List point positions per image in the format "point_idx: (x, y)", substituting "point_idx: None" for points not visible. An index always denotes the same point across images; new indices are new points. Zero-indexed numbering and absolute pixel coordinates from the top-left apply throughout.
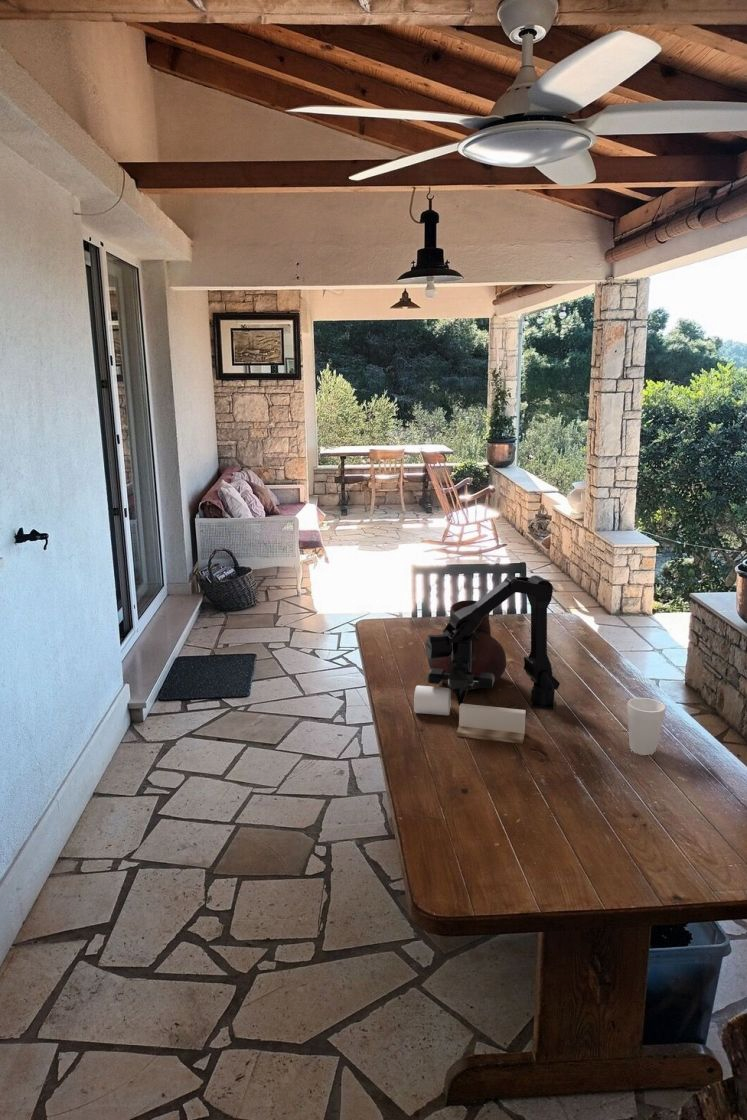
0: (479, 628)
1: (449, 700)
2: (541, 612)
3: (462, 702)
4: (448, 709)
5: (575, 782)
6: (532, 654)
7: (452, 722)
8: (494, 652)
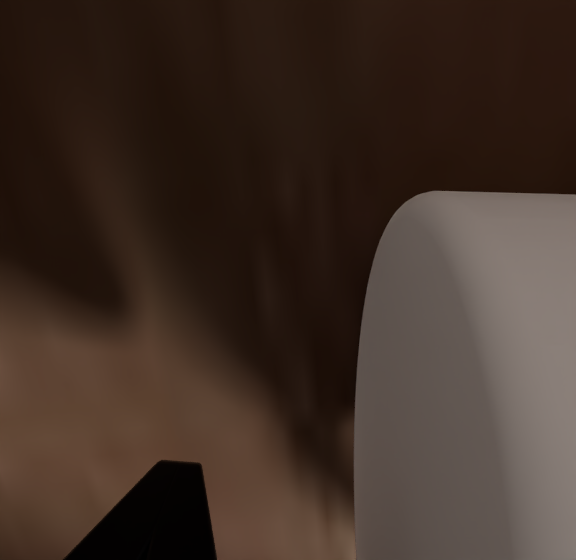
0: None
1: (403, 514)
2: None
3: (116, 511)
4: (397, 264)
5: None
6: None
7: (292, 59)
8: None
